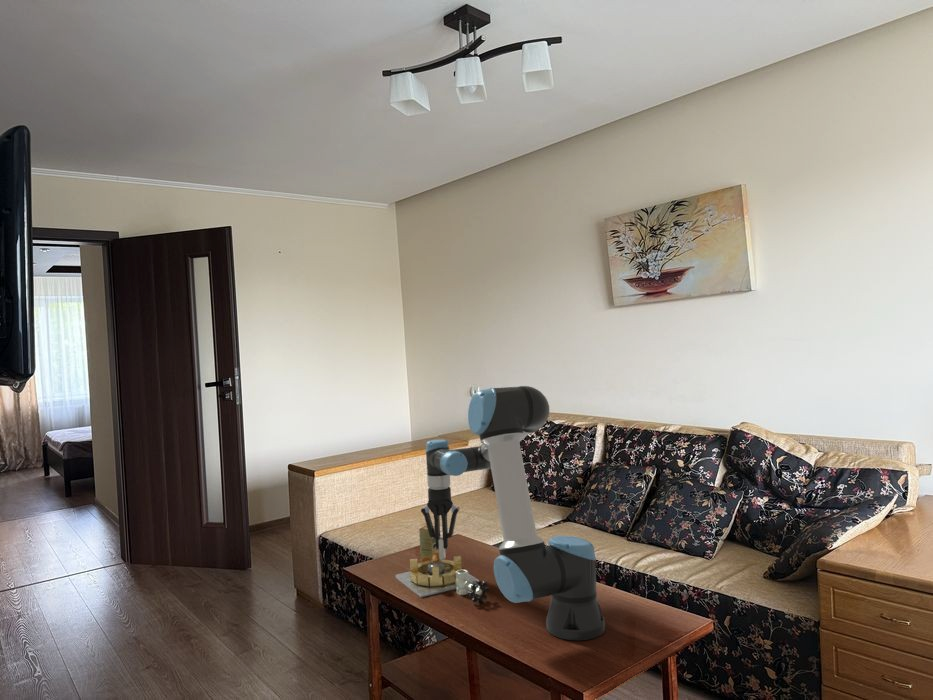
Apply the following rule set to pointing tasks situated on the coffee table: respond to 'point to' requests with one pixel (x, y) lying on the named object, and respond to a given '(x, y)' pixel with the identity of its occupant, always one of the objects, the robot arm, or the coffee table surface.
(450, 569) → the tan toothed ring
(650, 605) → the coffee table surface
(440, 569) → the hub plate
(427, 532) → the shoe polish box
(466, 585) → the valve
